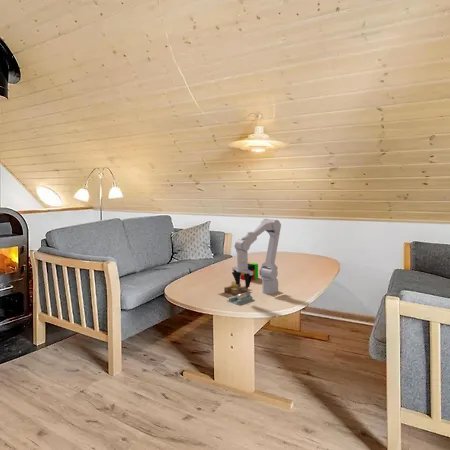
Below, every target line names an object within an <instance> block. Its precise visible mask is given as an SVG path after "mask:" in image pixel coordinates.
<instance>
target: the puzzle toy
mask: <svg viewBox="0 0 450 450" xmlns="http://www.w3.org/2000/svg"><path fill="white" fill-rule="evenodd" d="M248 269H249V270H251V271H253V277H252V279H251V281H254V280H257V279H259V264H258V263H255V262H251V261H248ZM244 275H246V274H244V273H241V276H240V280H241V281H245V278H244Z"/></svg>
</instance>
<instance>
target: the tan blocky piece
mask: <svg viewBox="0 0 450 450" xmlns="http://www.w3.org/2000/svg"><path fill="white" fill-rule="evenodd" d="M231 285H232V288H230V292H231V290H232V289H235V288H238V285H236V282H235V280H233V281H231ZM231 293H232V292H231Z"/></svg>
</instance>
